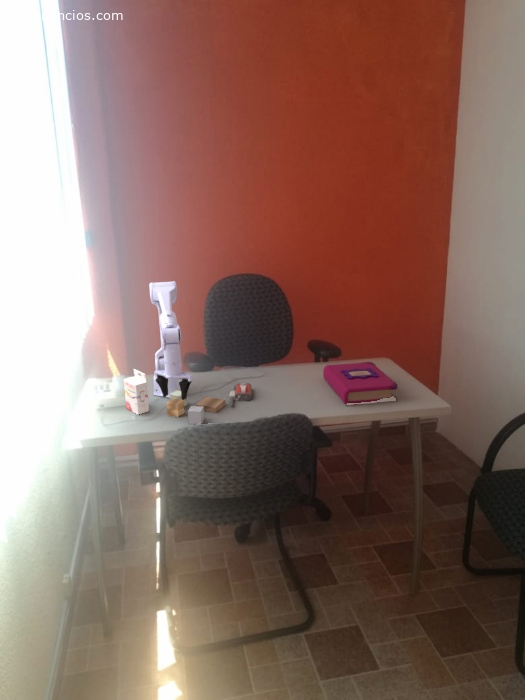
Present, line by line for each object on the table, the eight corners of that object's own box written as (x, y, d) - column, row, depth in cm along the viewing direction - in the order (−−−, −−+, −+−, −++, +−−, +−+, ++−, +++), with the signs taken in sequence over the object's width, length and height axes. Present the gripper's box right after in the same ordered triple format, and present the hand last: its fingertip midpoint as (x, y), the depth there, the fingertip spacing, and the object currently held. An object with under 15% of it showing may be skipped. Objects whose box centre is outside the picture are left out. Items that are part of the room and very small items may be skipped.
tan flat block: (196, 410, 203) (195, 404, 202) (206, 402, 210) (206, 396, 209) (215, 414, 200) (215, 407, 200) (225, 405, 207) (225, 399, 207)
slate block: (188, 424, 191) (187, 411, 190) (191, 418, 196) (191, 405, 194) (201, 425, 191) (200, 411, 189) (204, 419, 195) (203, 406, 194)
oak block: (167, 415, 198) (166, 402, 197) (173, 411, 202) (172, 398, 201) (178, 417, 197) (177, 404, 195) (184, 412, 201) (183, 400, 199)
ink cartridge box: (125, 408, 204) (121, 371, 200) (137, 404, 208) (133, 367, 203) (138, 415, 199) (134, 377, 194) (149, 411, 202) (146, 373, 197)
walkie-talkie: (229, 389, 223) (229, 409, 204) (229, 379, 222) (228, 398, 202) (251, 389, 223) (252, 409, 204) (251, 378, 222) (252, 398, 203)
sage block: (169, 406, 206) (169, 394, 205) (177, 402, 210) (177, 390, 208) (179, 409, 204) (178, 396, 202) (187, 405, 207) (186, 392, 206)
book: (344, 407, 205) (345, 388, 203) (323, 380, 231) (323, 363, 229) (397, 402, 209) (399, 384, 206) (370, 377, 235) (371, 360, 233)
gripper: (148, 362, 192) (151, 398, 197) (185, 367, 187) (187, 404, 191) (159, 356, 199) (162, 391, 203) (195, 360, 193) (197, 397, 198)
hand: (174, 397), depth 197 cm, fingers open, 7 cm apart
